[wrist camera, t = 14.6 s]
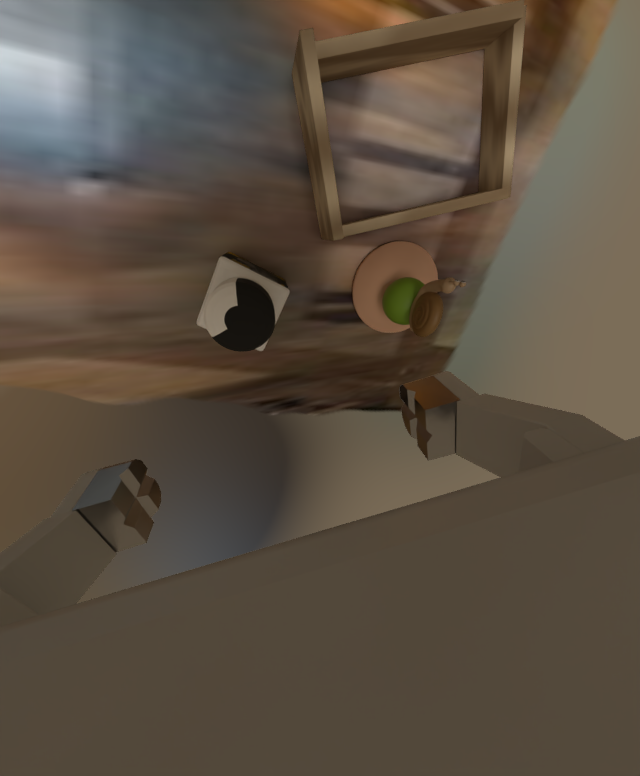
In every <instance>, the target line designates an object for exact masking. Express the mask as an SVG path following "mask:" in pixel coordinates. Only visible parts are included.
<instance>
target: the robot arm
mask: <svg viewBox="0 0 640 776" xmlns="http://www.w3.org/2000/svg"><path fill="white" fill-rule="evenodd" d="M399 391H400V398H401V399H402V400H403V402H404V405H403V407H402V409H401V411H402V418H403V421H404V424H405V427H406V429H407V431H408V433H409V434H410V435H411V437H413V438H416V439H417V443H418V447H419V448H420V450H421V451H422V453H423V454H424V455H425V457H426V458H427V460H432V459H436V458H440V457H444V456H448V455H451V454H455V453H456V455H458V456H460V457H462V458H464V459H466V460H468V461H470V462H472V463H474V464H476V465H478V466H480V467H482V468H484V469H486V470H488V471H490V472H492V473H494V474H496V475H497V476H499V477H501V478H497V479H494V480H491V481H487V482H484V483H481V484H477V485H474V486H471V487H467V488H464V489H461V490H457V491H454V492H451V493H447V494H444V495H441V496H437V497H434V498H431V499H428V500H424V501H421V502H417V503H414V504H411V505H407V506H404V507H401V508H397V509H394V510H390V511H387V512H384V513H380V514H377V515H373V516H370V517H367V518H363V519H360V520H357V521H353V522H350V523H346V524H343V525H339V526H336V527H333V528H329V529H326V530H322V531H319V532H316V533H312V534H309V535H306V536H303V537H299V538H296V539H292V540H289V541H286V542H282V543H279V544H275V545H272V546H269V547H265V548H262V549H259V550H256V551H252V552H249V553H246V554H242V555H239V556H235V557H232V558H229V559H225V560H222V561H219V562H215V563H212V564H209V565H205V566H202V567H199V568H195V569H192V570H188V571H185V572H182V573H179V574H175V575H172V576H168V577H165V578H161V579H158V580H155V581H151V582H148V583H145V584H141V585H138V586H135V587H131V588H128V589H124V590H121V591H118V592H114V593H111V594H108V595H104V596H101V597H98V598H94V599H91V600H88V601H84V602H81V603H78V604H76V603H77V602H78V601H79V600H80V598H81V597H82V596H83V595H84V594H85V592H86V591H87V590H88V588H89V587H90V586H91V585H92V584H93V583H94V581H95V580H96V579H97V578H98V576H99V575H100V574H101V573H102V571H103V570H104V569H105V568H106V567H107V565H108V564H109V563H110V562H111V560H112V559H113V558H114V557H115V555H116V552H119V551H123V550H125V549H129V548H132V547H135V546H138V545H141V544H144V543H147V540H148V537H149V534H150V532H151V529H152V527H153V524H154V522H153V520H152V518H151V517H152V516H153V515H154V514H155V513H156V511H158V509H159V506H160V504H161V490H160V487H159V485H158V483H157V482H156V480H155V479H154V478H151V477H149V476H147V475H146V473H147V467H146V466H145V465H144V464H143V462H142V461H141V460H137V459H135V460H131V461H127V462H123V463H119V464H115V465H112V466H108V467H104V468H100V469H96V470H93V471H90V472H87V473H85V474H82V475H81V476H80V477H79V479H78V480H77V481H76V483H75V484H74V486H73V487H72V488H71V490H70V491H69V492H68V494H67V495H66V497H65V498H64V499H63V501H62V502H61V504H60V505H59V506H58V508H57V509H56V510H55V512H54V513H53V515H52V516H51V517H50V518H47V519H44V520H43V521H42V522H40V523H39V524H38V525H36V526H35V527H34V528H32V529H31V530H30V531H28V532H27V533H26V534H24V535H23V536H22V537H21V538H19V539H18V540H17V541H15V542H14V543H13V544H11V545H10V546H9V547H8V548H6V549H5V550H4V551H2V552H1V553H0V776H640V436H639V437H635V438H632V439H628V440H623V439H621V438H620V437H618V436H616V435H615V434H613V433H611V432H610V431H608V430H606V429H605V428H603V427H601V426H599V425H598V424H596V423H595V422H593V421H591V420H590V419H588V418H586V417H585V416H583V415H580V414H575V413H571V412H566V411H562V410H557V409H552V408H548V407H543V406H538V405H534V404H529V403H525V402H520V401H516V400H511V399H506V398H502V397H497V396H493V395H488V394H482V395H479V394H478V393H476V392H475V391H474V390H472V389H471V388H470V387H468V386H467V385H466V384H465V383H463V382H462V381H461V380H460V379H458V378H457V377H456V376H454V375H453V374H452V373H451V372H448V371H445V372H442V373H439V374H436V375H432V376H430V377H427V378H423V379H420V380H417V381H413V382H410V383H407V384H404V385H400V390H399Z"/></svg>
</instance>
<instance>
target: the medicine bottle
mask: <svg viewBox="0 0 640 776" xmlns="http://www.w3.org/2000/svg"><path fill="white" fill-rule="evenodd" d="M289 293H290V291H289V288H288V286H287V284H286V281H285V280H284V279H282V278H280V277H278V276H276V275H274V274H272V273H270V272H268V271H266V270H264V269H263V268H261V267H259V266H257V265H255V264H253V263H251V262H249V261H247V260H245V259H243V258H241V257H239V256H237V255H235V254H233V253H231V252H228V253H226V254H224V255H222V256H221V257H220V258H219V260H218V262H217V265H216V268H215V271H214V274H213V276H212V279H211V282H210V285H209V288H208V291H207V293H206V296H205V299H204V302H203V305H202V307H201V310H200V313H199V316H198V319H197V325H198V326H200V327H203V328H205V329H207V330H208V332H209V334H210V335H211V336H212V338H213V339H214V340H215V341H216V342H218V343H219V344H220V345H222V346H223V347H225V348H228V349H230V350H234V351H250V350H254V349H256V350H259V351H263V350H264V348H265V346H266V344H267V342H268V340H269V338H270V336H271V335H272V333H273V330H274V327H275V324H276V322H277V320H278V318H279V315H280V313H281V311H282V309H283V307H284V304H285V302H286V300H287V298H288V296H289Z"/></svg>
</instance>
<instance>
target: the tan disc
mask: <svg viewBox="0 0 640 776" xmlns="http://www.w3.org/2000/svg"><path fill="white" fill-rule="evenodd" d="M404 277H412V278H416V279H418V280H420V281H421V282H422V283H424V284H427V283H429V282H431V281H435V280H438V274H437V269H436V266H435V263H434V261H433V259H432V257H431V256H430V255H429V253H428V252H427V251H426V250H425V249H423V248H422V247H421V246H419V245H417V244H414V243H411V242H406V241H394V242H389V243H386V244H383V245H381V246H379V247H377V248H376V249H374V250H373V251H372V252H370V253H369V254H368V255H367V256H366V257H365V258H364V260H363V261H362V262H361V264H360V265H359V267H358V269H357V271H356V273H355V276H354V279H353V284H352V301H353V305H354V308H355V310H356V312H357V314H358V316H359V317H360V319H361V320H362V321H363V322H364V323H365V324H366V325H368V326H369V327H370V328H372V329H374V330H377V331H379V332H384V333H395V332H400V331H403V330H406V329H408V328H410V325H400V324H396V323H394V322H392V321H391V320H390V319H389V318H388V317H387V316H386V315H385V313H384V310H383V306H382V300H383V295H384V293H385V291H386V289H387V288H388V286H389V285H390V284H391V283H393V282H394V281H396V280H398V279H400V278H404ZM436 293H437V292H436Z"/></svg>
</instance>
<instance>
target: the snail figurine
mask: <svg viewBox="0 0 640 776" xmlns="http://www.w3.org/2000/svg"><path fill="white" fill-rule="evenodd" d="M457 285H460V287H464V286H465V285H466V282H465V281H461V282H459V280H455V279H454V278H446V279H440V280H435V281H431V282H429V283H427V284H424V283H422V282H421V281H420V280H418V279H416V278H412V277H404V278H400V279H398V280H396V281H394V282H393V283H391V284H390V285H389V286H388V288H387V289H386V291H385V293H384V295H383V300H382V306H383V310H384V313H385V315H386V316H387V317H388V318H389V319H390V320H391V321H392V322H394V323H396V324H400V325H410V329H411V331H414V333H415V334H416V335H417V336H420V337H426V336H428V335H430V334H432V333H433V332H434V331H435V330H436V328H437V327H438V325H439V323H440V321H441V318H442V314H443V302H442V299H441V297H440V296H439V294H437V293H436V292H440V291H442V292H444V293H451V292H452V291H453V290H454V289H455V287H456V286H457Z"/></svg>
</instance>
